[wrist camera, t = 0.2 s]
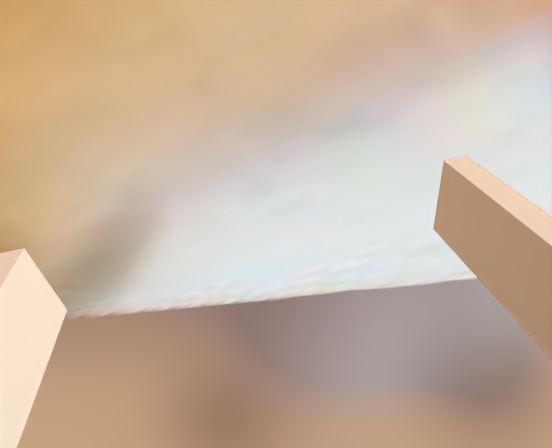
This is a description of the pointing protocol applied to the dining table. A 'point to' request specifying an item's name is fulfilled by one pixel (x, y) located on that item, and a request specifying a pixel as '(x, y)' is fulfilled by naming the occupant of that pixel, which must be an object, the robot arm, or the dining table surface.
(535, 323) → the robot arm
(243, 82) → the dining table surface
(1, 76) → the dining table surface
